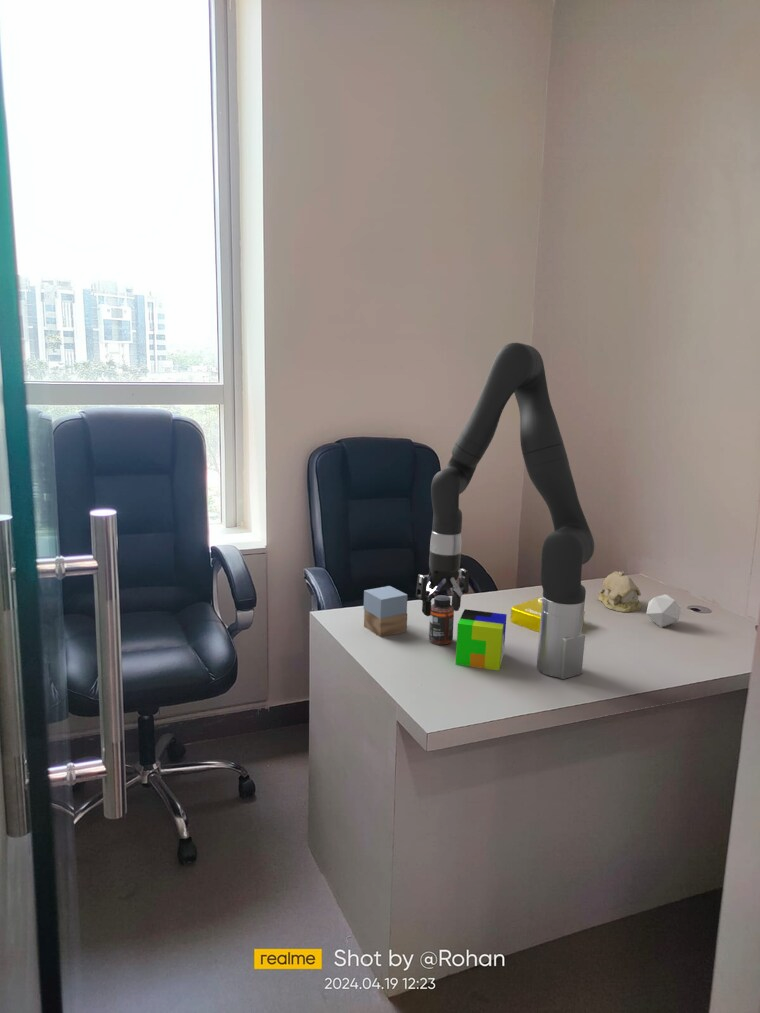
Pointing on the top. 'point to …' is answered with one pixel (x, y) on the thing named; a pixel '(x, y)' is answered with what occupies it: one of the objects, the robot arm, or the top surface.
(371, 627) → the tower base block
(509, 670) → the top surface
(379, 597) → the tower top block
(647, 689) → the top surface
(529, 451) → the robot arm
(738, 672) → the top surface
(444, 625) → the supplement bottle
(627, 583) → the ceramic model
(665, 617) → the die
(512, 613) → the element tile
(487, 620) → the puzzle toy
